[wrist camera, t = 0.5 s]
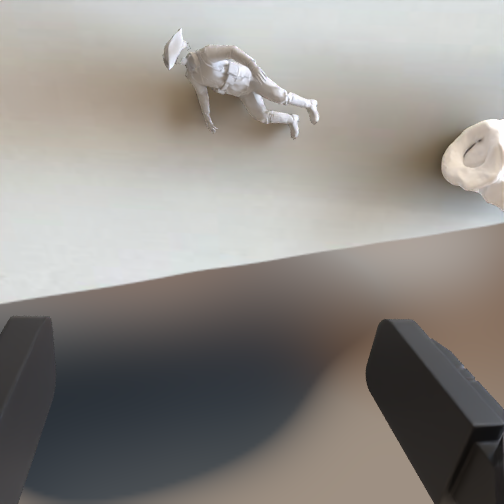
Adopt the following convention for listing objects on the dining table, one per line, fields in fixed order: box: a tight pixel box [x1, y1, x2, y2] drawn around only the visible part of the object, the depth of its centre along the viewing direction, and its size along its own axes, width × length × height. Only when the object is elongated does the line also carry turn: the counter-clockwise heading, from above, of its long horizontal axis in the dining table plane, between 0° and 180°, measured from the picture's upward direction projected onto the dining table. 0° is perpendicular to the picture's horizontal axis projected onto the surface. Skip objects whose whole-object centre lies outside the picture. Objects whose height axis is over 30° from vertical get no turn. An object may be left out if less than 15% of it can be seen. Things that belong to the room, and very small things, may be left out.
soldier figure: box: [163, 28, 319, 140], centre depth 33 cm, size 8×5×12 cm
